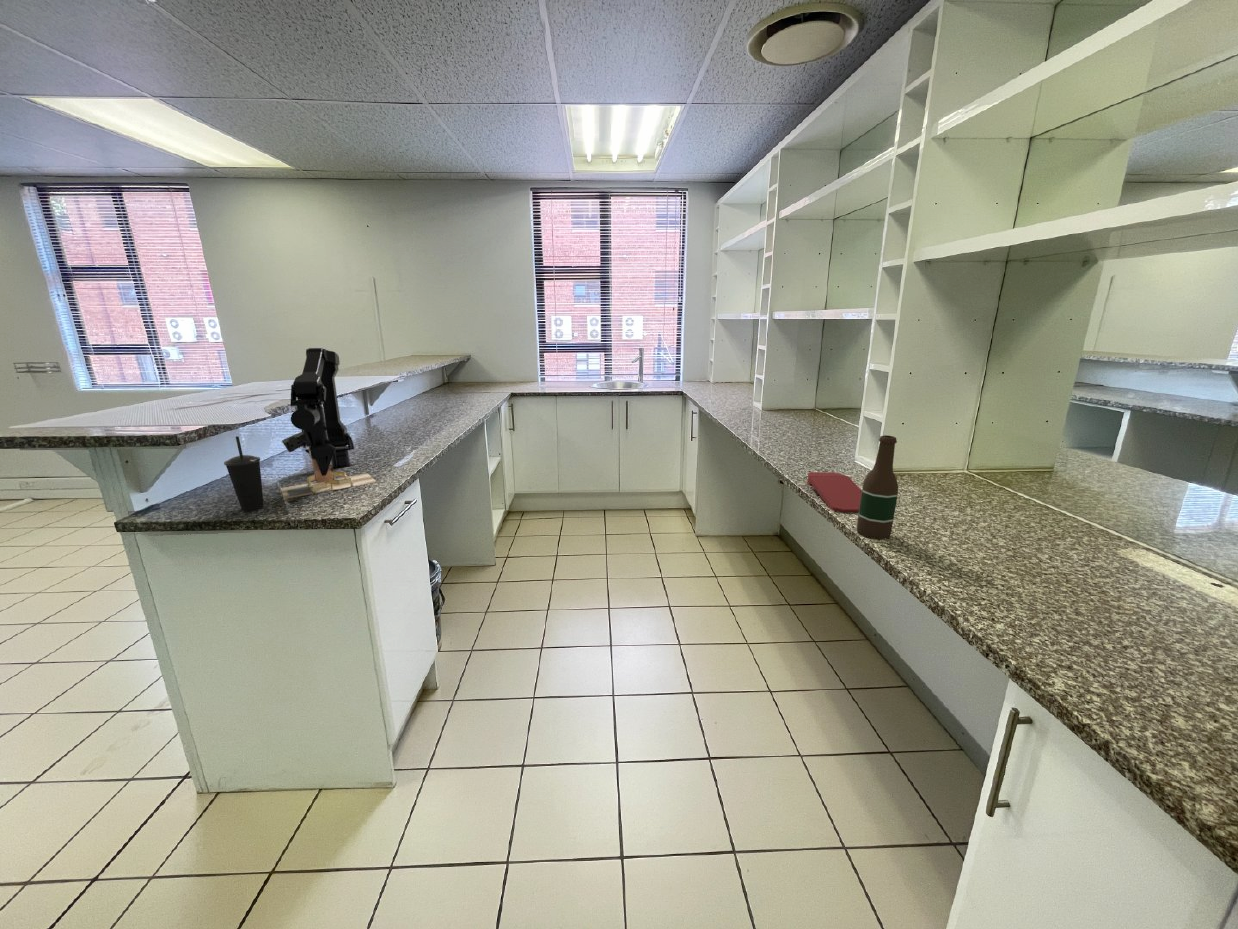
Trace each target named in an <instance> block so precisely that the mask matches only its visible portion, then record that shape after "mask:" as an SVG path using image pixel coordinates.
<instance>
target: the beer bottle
mask: <svg viewBox="0 0 1238 929" xmlns="http://www.w3.org/2000/svg"><path fill="white" fill-rule="evenodd" d="M878 442H879V445H878V449H877V455H876V458H875V463H874V466H873V468H872V469H871V470H870V471H869V472H868V473H867V474H866V476H865V478H863V479H864V480H863V484H862V487H861V488H862V489H861V490H862V494H861V501H860V507H859V513H858V516H857V521H856V523H857V524H856V533H857V534H858V535H860V536H862V537H864V538H867V539H871V540H872V539H873V540H879V541H881V540H885V539H886V540H887V539H888V540H889V539H890V537H891V533H892V530H893V523H894V519H895V513H896V505H897V502H898V501H897V500H898V496H899V483H898V479H897V477H896V475H895V473H894V459H895V458H894V456H895V449H896V448H895V446H896V444H897V443H898V442H897V437H895V436H893V435H887V434H886V435H880V437H879V439H878Z"/></svg>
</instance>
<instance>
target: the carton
mask: <svg viewBox="0 0 1238 929" xmlns="http://www.w3.org/2000/svg"><path fill="white" fill-rule="evenodd" d="M806 482H807V484H808V485H809V486H812V487H813V488H814V490H815V491H816V492H817V494H818V495H819V496H820V497H821V499H822V500H823V501H824V502H825V503H826V506H828V508H829V509H830V510H831V511H834V512H839V513H853V514H854V513H858V514H859V507H860V501H861V494H862V489H861V488H860V487H859V485H857V483H855V482H854V481H853V480H852V479H851V478H850V477H849V475H848V476H847V475H845V474H842V473H840V472H820V471H819V472H816V471H815V472H808V473H807V481H806Z"/></svg>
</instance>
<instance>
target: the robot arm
mask: <svg viewBox="0 0 1238 929" xmlns="http://www.w3.org/2000/svg"><path fill="white" fill-rule="evenodd" d="M305 356H306V357H305V362H304V365H303V370H302V373H301V374H299V375H297V376H296V377H295V379H294V380H293V382H292V384H291V386H290V407H296V410H294V411H293V412H292V413H291V415H290V422H291V424H292V425H293V426H294V427H295V428H296V429H298V430H301V431H300V432H298V433H296V434H293V435H291V436H288V437H286V438H284V439H282V440H281V443H282V444H283V446H284V447H285V449H286V450H287V452H288V453H292V452H294V451H296V450H297V449H300V448H302V449H305V450H304V452H306V453H307V454H308V456H309V457H310V458H313V459H315V460H316V462H317V464H318V467H319V469H320V472H321V474H322V476H325V475H327V471H328V468H329V465H330V467H331V470H337V469H344V468H349V467H350V468H351V467H354V464H352V463H351V458H350V452H349V451H352V450H355V445H354V440H353V437H352V436H351V435H350V433H349V432H348V429H347V427H346V425H345V424H344V423H343V422H342V420H341V416H340V415H341V414H340V408H339V401H338V394H337V386H336V381H335V378H336V376H337V374H338V373H339V366H340V363H341V362H340V356H339V354H338V353H336V351H333V350H328V349H326V348H323V347H308V348H306V350H305ZM306 447H307V449H306Z"/></svg>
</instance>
